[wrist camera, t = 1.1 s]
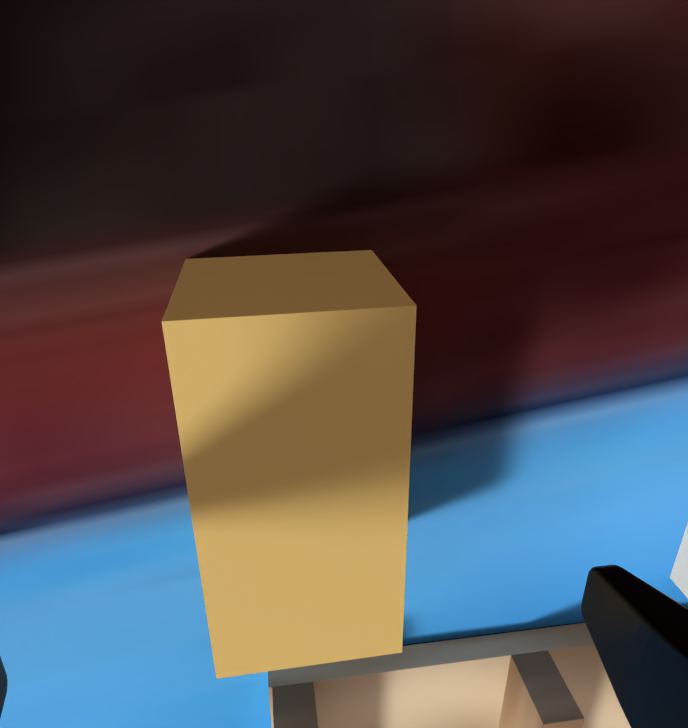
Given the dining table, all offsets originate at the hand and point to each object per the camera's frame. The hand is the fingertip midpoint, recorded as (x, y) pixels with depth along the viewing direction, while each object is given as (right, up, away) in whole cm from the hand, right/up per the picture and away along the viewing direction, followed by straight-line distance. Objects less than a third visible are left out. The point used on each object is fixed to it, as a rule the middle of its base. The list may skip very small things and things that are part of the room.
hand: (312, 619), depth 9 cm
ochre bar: (-1, +3, +6) cm, 6 cm away
